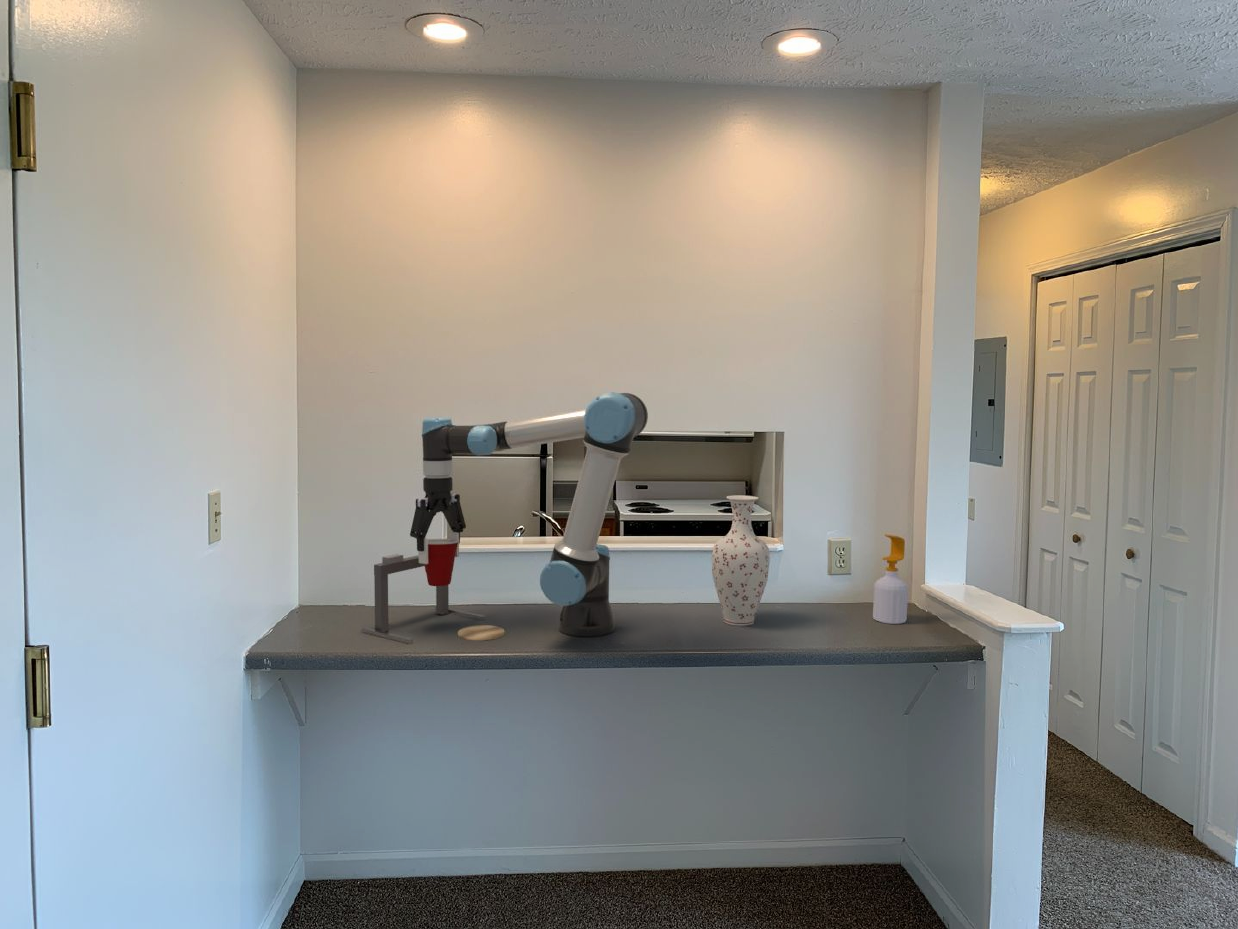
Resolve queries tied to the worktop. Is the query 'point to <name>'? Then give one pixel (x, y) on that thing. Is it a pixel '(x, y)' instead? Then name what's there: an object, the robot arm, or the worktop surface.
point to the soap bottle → (891, 588)
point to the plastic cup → (440, 561)
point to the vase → (740, 565)
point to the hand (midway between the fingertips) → (439, 559)
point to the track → (409, 640)
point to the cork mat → (481, 632)
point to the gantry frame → (381, 587)
